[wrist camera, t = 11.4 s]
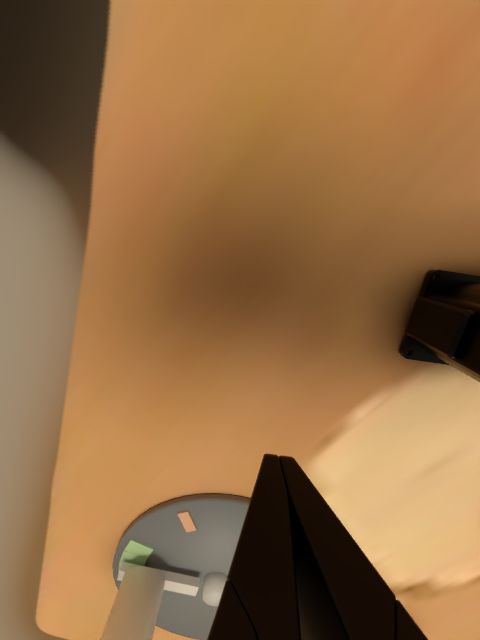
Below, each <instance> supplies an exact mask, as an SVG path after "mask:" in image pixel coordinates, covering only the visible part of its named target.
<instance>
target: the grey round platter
mask: <svg viewBox="0 0 480 640" xmlns="http://www.w3.org/2000/svg"><path fill="white" fill-rule="evenodd" d="M249 503H250V499H249V498H246V497H240V496H235V495H227V494H197V495H189V496H184V497H180V498H176V499H172V500H169V501H166V502H164V503H161V504H159V505H157V506H155V507H153V508H151V509H149V510H148V511H146V512H145V513H143V514H142V515H140V516H139V517H138V518H137V519H136V520H135V521H134V522H132V523H131V525H130V526H129V527H128V528H127V530H126V531H125V533H124V534H123V536H122V538H121V540H120V542H119V545H118V547H117V550H116V553H115V556H114V561H113V575H114V579H115V583H116V586H117V588H118V590H119V587H120V584H121V581H119V580H117V578H118V574H119V570H120V567H121V564H122V562H127V563H131V564H136V565H141V566H146V567H150V568H155V569H160V570H165V571H169V572H174V573H179V574H183V575H188V576H193V577H198V578H200V582H199V588H198V591H197V594H196V596H192V595H187V594H182V593H177V592H173V591H168V590H163V594H162V599H161V603H160V607H159V612H158V616H157V620H156V624H155V625H156V626H158V627H159V628H162V629H164V630H167V631H169V632H171V633H175V634H178V635H181V636H185V637H189V638H193V639H200V640H207V638H208V635H209V632H210V629H211V626H212V623H213V620H214V617H215V614H216V611H217V608H218V605H219V602H220V598H221V595H222V592H223V588H224V585H225V582H226V580H227V576H228V572H229V569H230V566H231V562H232V559H233V556H234V553H235V549H236V546H237V543H238V539H239V536H240V533H241V529H242V526H243V523H244V519H245V516H246V513H247V509H248V506H249Z"/></svg>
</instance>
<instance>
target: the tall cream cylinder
mask: <svg viewBox="0 0 480 640" xmlns="http://www.w3.org/2000/svg"><path fill="white" fill-rule="evenodd" d="M117 580H119V581H121V584H120V587H119V590H118V592H117V595H116V598H115V601H114V603H113V606H112V609H111V612H110V614H109V617H108V620H107V623H106V625H105V628H104V631H103V634H102V636H101V639H100V640H152V637H153V633H154V629H155V624H156V620H157V616H158V612H159V607H160V603H161V599H162V594H163V590H168V591H173V592H177V593H182V594H187V595H192V596H196V594H197V591H198V588H199V582H200V578H198V577H193V576H188V575H183V574H179V573H174V572H169V571H165V570H160V569H155V568H150V567H146V566H141V565H136V564H131V563H127V562H122V564H121V567H120V570H119V574H118V578H117Z"/></svg>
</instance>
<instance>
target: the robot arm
mask: <svg viewBox="0 0 480 640" xmlns="http://www.w3.org/2000/svg"><path fill="white" fill-rule="evenodd" d="M435 275H437V278H436V279H435V280H433V277H434V276H435ZM409 349H410V351H409V352H408V353H406V351H407V350H409ZM399 353H400V355H401V356H403V357H404V358H406V359H412V360H419V361H426V362H433V363H440V364H447V365H451V366H453V367H455V368H456V369H458V370H460V371H461V372H463V373H465V374H466V375H468V376H470V377H472V378H473V379H475V380H477V381H478V382H480V276H474V275H468V274H461V273H455V272H448V271H442V270H431V271H429V272H428V273H427V275H426V277H425V280H424V283H423V285H422V288H421V291H420V294H419V297H418V299H417V300H416V303H415V306H414V309H413V312H412V314H411V317H410V320H409V323H408V326H407V328H406V333H405V336H404V339H403V341H402V344H401V347H400V350H399ZM207 640H428V639H427V637H426V636H425V635H424V633H423V632H422V631H421V629H420V628H419V627H418V625H417V624H416V623H415V621H414V620H413V619H412V617H411V616H410V615H409V613H408V612H407V611H406V609H405V608H404V607H403V605H402V604H401V602H400V601H399V600H396V597H395V595H394V593H393V592H392V591H391V589H390V588H389V586H388V585H387V584H386V582H385V581H384V580H383V578H382V577H381V576H380V574H379V573H378V572H377V570H376V569H375V568H374V566H373V565H372V563H371V562H370V561H369V559H368V558H367V557H366V555H365V554H364V553H363V551H362V550H361V549H360V547H359V546H358V544H357V543H356V542H355V540H354V539H353V538H352V536H351V535H350V534H349V532H348V531H347V530H346V528H345V527H344V526H343V524H342V523H341V521H340V520H339V519H338V517H337V516H336V515H335V513H334V512H333V511H332V509H331V508H330V507H329V505H328V504H327V502H326V501H325V500H324V498H323V497H322V496H321V494H320V493H319V492H318V490H317V489H316V488H315V486H314V485H313V484H312V482H311V481H310V479H309V478H308V477H307V475H306V474H305V473H304V471H303V470H302V469H301V467H300V466H299V465H298V463H297V462H296V461H295V459H294V458H293V457H289V456H279V457H278V456H277V455H273V454H264V456H263V460H262V463H261V466H260V470H259V473H258V476H257V480H256V483H255V486H254V490H253V493H252V496H251V499H250V503H249V506H248V509H247V513H246V516H245V519H244V523H243V526H242V529H241V533H240V536H239V539H238V543H237V546H236V549H235V553H234V556H233V559H232V562H231V566H230V569H229V572H228V576H227V580H226V582H225V585H224V588H223V592H222V595H221V598H220V602H219V605H218V608H217V611H216V614H215V617H214V620H213V623H212V626H211V629H210V632H209V635H208V638H207Z"/></svg>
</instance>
